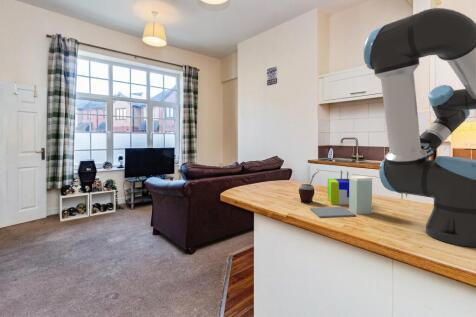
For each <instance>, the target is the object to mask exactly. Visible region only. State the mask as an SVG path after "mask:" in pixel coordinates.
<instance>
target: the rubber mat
mask: <svg viewBox="0 0 476 317" xmlns="http://www.w3.org/2000/svg"><path fill="white" fill-rule="evenodd" d="M309 210H310V211H311V212H312V213H314V214H315V215H316V216H317V217H318V218H320V219H321V218H340V217H341V218H345V217H348V218H349V217H356V216H357V214H355V213H354V212H352V211H350V210H349V209H347V208H346V207H344V206H332V207H331V206H330V207H329V206H328V207H309Z"/></svg>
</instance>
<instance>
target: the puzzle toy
mask: <svg viewBox="0 0 476 317" xmlns="http://www.w3.org/2000/svg"><path fill="white" fill-rule="evenodd" d="M327 200H328V202H329V204H330V205H348V206H349V178H327Z"/></svg>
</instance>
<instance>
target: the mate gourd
mask: <svg viewBox="0 0 476 317" xmlns="http://www.w3.org/2000/svg"><path fill="white" fill-rule="evenodd" d="M318 173H320V171H319V170H317V171H316V172H314V174H312V176H311V178H310V182H309V184H308V183H305V184H304V183H303V184H300V186H299V187H298V195H299V199H300V202H301V204H302V202H304V203H306V204H307V203H308V204H309V203H312V202H313V198H314V196H315V187H314V185H312V182H313V180H314V178H315V176H316V174H318Z"/></svg>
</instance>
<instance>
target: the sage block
mask: <svg viewBox="0 0 476 317" xmlns="http://www.w3.org/2000/svg"><path fill="white" fill-rule="evenodd" d="M348 179H349V205H348V210H349V211H351V212H352V213H354V214H356V215H370V214H372V212H373V210H372V209H373V208H372V207H373V206H372V205H373V203H372V202H373V177H369V176H366V175H351V176H350V175H349V178H348Z"/></svg>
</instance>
